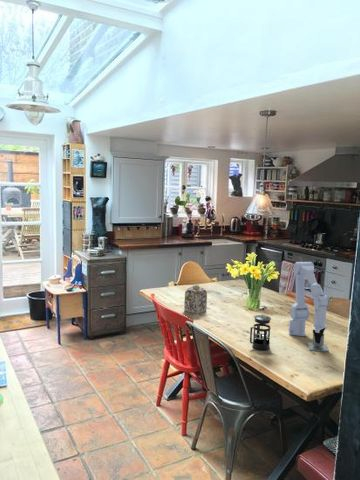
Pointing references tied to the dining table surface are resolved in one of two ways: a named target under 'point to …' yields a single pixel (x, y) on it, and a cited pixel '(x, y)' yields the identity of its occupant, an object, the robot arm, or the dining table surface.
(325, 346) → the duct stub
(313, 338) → the collar
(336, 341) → the dining table surface
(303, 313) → the robot arm
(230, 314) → the dining table surface
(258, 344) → the french press
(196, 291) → the decorative jar
